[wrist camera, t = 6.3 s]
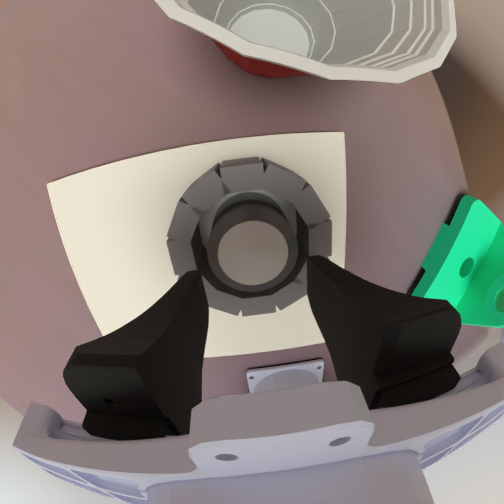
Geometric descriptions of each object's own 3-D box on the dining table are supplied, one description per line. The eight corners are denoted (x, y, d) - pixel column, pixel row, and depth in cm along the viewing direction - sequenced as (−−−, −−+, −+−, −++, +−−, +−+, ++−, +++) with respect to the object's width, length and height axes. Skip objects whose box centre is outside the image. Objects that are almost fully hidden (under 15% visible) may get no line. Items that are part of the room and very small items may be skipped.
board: (335, 334, 24) (348, 366, 21) (118, 353, 24) (106, 384, 20) (339, 131, 17) (367, 134, 13) (52, 181, 16) (19, 196, 13)
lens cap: (285, 258, 20) (297, 290, 16) (216, 263, 20) (212, 296, 16) (285, 190, 18) (299, 207, 14) (209, 194, 17) (201, 214, 14)
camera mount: (456, 187, 19) (540, 229, 10) (490, 218, 20) (555, 260, 11) (400, 297, 23) (456, 370, 14) (441, 309, 25) (489, 369, 16)
